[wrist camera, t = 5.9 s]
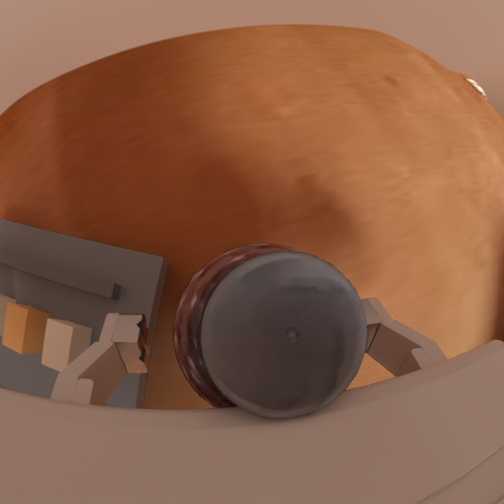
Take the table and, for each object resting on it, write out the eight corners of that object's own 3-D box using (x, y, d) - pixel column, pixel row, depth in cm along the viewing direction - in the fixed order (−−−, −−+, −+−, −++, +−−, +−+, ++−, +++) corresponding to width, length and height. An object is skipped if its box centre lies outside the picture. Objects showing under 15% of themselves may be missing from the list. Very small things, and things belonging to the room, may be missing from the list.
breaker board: (134, 542, 11) (123, 575, 7) (-11, 472, 10) (-38, 486, 6) (168, 264, 17) (155, 243, 13) (6, 225, 16) (-27, 203, 12)
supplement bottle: (180, 292, 17) (131, 231, 6) (275, 270, 18) (362, 188, 7) (204, 388, 16) (196, 481, 5) (299, 363, 17) (418, 399, 6)
